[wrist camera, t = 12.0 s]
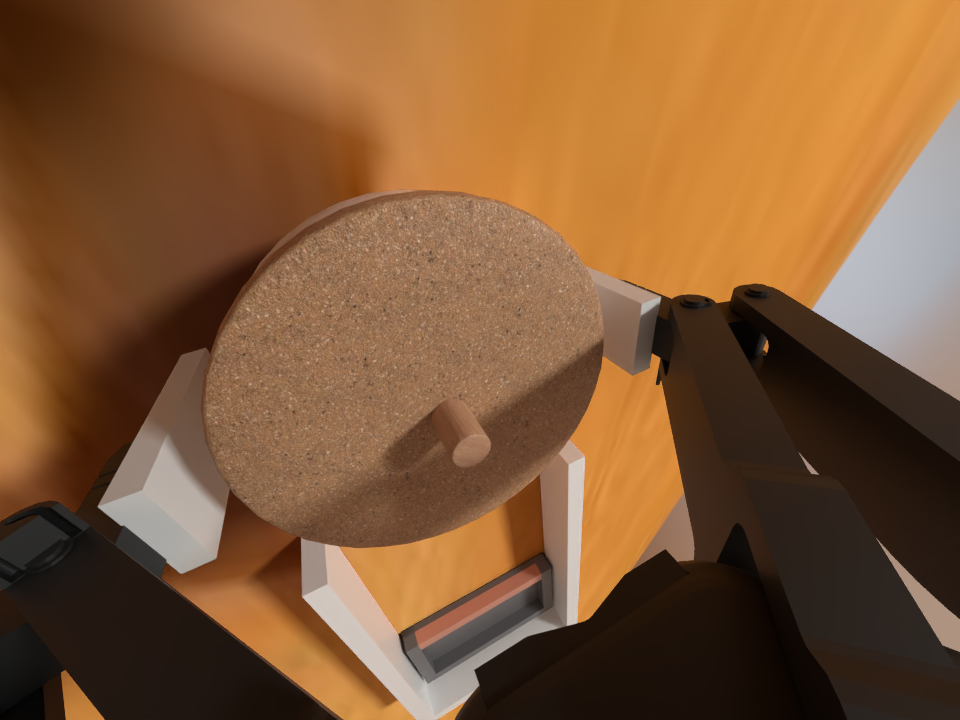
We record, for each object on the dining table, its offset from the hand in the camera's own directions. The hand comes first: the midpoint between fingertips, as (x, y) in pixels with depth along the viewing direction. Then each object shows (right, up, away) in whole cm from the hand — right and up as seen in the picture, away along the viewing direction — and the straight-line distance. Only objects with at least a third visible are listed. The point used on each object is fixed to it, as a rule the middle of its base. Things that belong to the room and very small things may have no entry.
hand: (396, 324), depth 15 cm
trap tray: (+4, -25, +18) cm, 31 cm away
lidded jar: (-1, +1, +1) cm, 2 cm away
